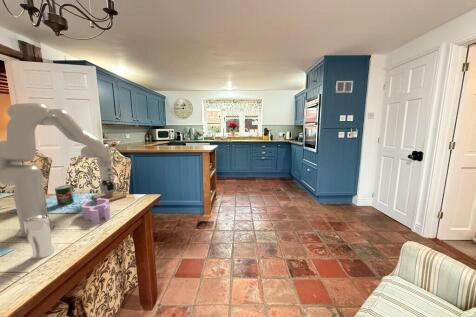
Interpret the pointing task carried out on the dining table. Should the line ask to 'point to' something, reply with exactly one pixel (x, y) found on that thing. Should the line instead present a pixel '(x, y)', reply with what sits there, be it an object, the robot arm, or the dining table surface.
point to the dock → (110, 196)
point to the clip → (96, 210)
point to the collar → (106, 187)
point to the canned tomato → (64, 195)
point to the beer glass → (39, 235)
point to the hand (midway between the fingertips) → (108, 188)
